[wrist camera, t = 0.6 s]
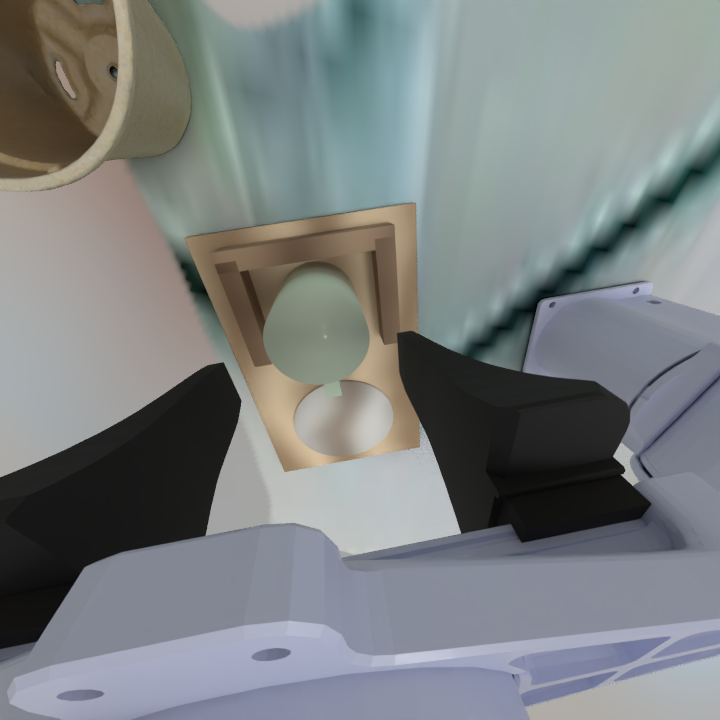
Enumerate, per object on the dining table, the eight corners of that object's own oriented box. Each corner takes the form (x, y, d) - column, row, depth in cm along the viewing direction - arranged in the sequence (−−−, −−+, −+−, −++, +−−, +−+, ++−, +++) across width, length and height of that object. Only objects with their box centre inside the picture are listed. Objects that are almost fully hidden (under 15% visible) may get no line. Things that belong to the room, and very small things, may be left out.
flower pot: (267, 131, 15) (213, 67, 7) (138, 227, 16) (-14, 252, 9) (100, -161, 10) (-512, -1149, 3) (-60, 12, 12) (-734, -315, 4)
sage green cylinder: (350, 255, 18) (363, 281, 12) (364, 358, 22) (378, 412, 16) (270, 267, 17) (247, 300, 12) (300, 369, 22) (292, 427, 16)
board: (412, 202, 17) (425, 203, 15) (417, 441, 29) (425, 461, 27) (189, 236, 17) (169, 242, 15) (285, 465, 28) (282, 488, 26)
